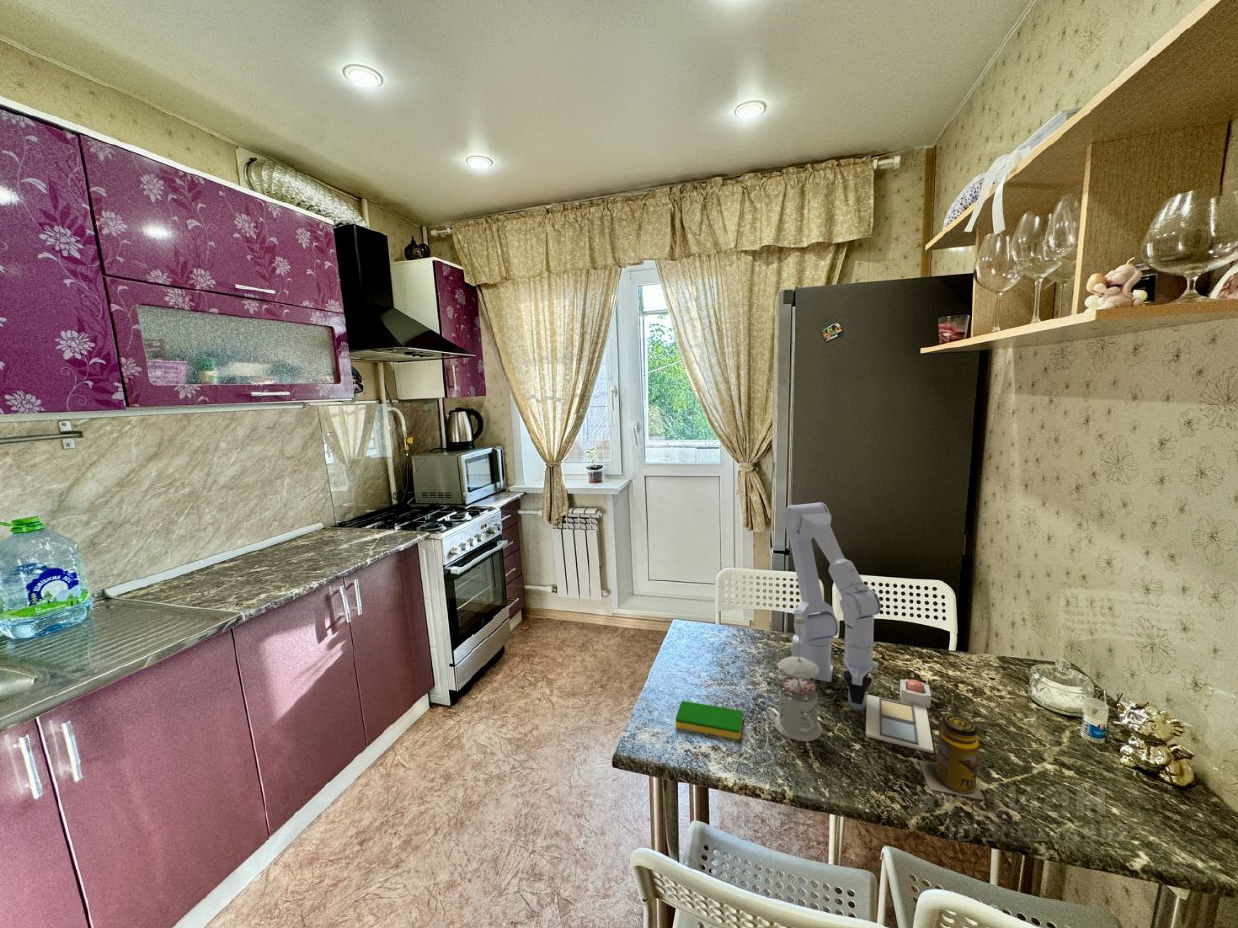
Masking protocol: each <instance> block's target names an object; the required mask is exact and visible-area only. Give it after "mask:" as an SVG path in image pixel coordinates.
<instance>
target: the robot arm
mask: <svg viewBox="0 0 1238 928" xmlns="http://www.w3.org/2000/svg"><path fill="white" fill-rule="evenodd" d="M782 516H783V522H784V523H783V524H784V527H785V532H786V537H788V538H789V543H790V548H791V553H792V560H793V565H794V569H795V573H796V579H797V584H798V591H799V594H800V601H801V602H800V603H799V604H798V606H797V607H796V608H795V609H794V611H793V617H794V619H793V620H794V622H793V629H794V632H795V634H794V635H793V636H792V644H791V657H798V648H799V624H797V623H795V618H796V617H802V618H803V619H804V624H800V651H799V657H803V658H805V659H807V660H810V661H812V662H813V663H814V664H816V665H817V666H818V668H819V673H818V675H817V676H816V677H815V680H819V681H821V682H822V681H823V682H827V683H830V682H832V679H833V678H832V677H833V670H834V665H832V664H831V661H832V660H831V659H832V658H831V657H832V642H834V640H835V637H836V636H837V635H838V634H839V633H840V624H839V621H838V618H837V617H836V614H835V613H834V607H833V606H832V605H829V603H827V602H826V601H824V598H823V593H822V588H821V583H820V579H819V574H818V568H817V565H816V563H817V562H816V559H815V554H814V549H813V543H812V539H814V540H815V542H816V543H817V545H818V547H819V548H820V549H821V552H822V553H823V554H824V556H825V558H826V559H827V561H828V562H829V567H828V573H829V575H830V577H831V579H832V581H833V583H834V585H835V587H836V589H837V591H838V593H839V595H840V597H841V599H840V600H839V606H840V609H841V612H842V620H843V622H844V624H845V625H844V626H845V631H844V656H843V660H842V661H843V664H844V665H845V667H846V669H847V670H843V678H844V680H845V682H846V684H847V688H848V693H849V692H850V698H851V701H852V703H856V704H860V705H862V703H863V700H864V696H865V692H866V693H867V690H868V688H869V687H870V686H871V684H872V679H873V678H872V677H869V676H868V675H869V674H870V672H871V670H872V669H875V670H877V669H879V662H878V661H873V653H874V652H873V651H874V650H873V649H874V629H875V627H874V626H875V624H874V623H875V615H876V616H877V615H878V614H879V613H880V611H881V601H880V597H879V596H878V594H877V593H876V591H875V590H873V589H871V588H870V587H869V586H868V585H867V584H865V582H864V581H863V579H862V577H861V575H860V574H859V571H858V570H857V568H856V567H855V565H854V563H853V561H851V560H848V559H846V558H845V556H844V554H843V552H842V549H841V547H840V546H839V543H838V540H837V538H836V536H835V533H834V531H833V529H832V527H831V523H832V515H831V513H830V510H829V508H828V506H827V505H826V503H824V502H821V501H819V502H815V503H814V502H813V503H803V504H789V505H788V506H787V507H786V508H785V511H784V513H783V514H782Z"/></svg>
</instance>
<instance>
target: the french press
mask: <svg viewBox="0 0 1238 928" xmlns="http://www.w3.org/2000/svg"><path fill="white" fill-rule="evenodd" d="M795 623H797V624H799V648H798V657H792V655H791V656H788V657H785V658H783V659H781V660H780V661H779V663H778V665H779V668H780V671H782V672H783V673H784V674H785V675H787V676H785V677H783V678H782V679H781V681H780V682H781V683H780V686H779V709H778V711H779V712H778V713H779V714H777V716H776V717H775V719H774V725H775V728H776V729H777V730H778V732H779V733H780V734H782V735H784V736H785V737H787V738H789V739H793V740H795V741H798V742H799V741H800V742H810V741H815V740H817V739H818V738H819V737H820V736H821V735H822V733H823V728H822V725H821V724H820V723H819V722H818V711H819V709H818V706H819V705H818V703H819V702H818V691H817V686H816V684H815V680H816V679H815V677H816V676H817V675H818V673H819V668H818V666H817V665H816V664H814V663H813V662H812V661H810V660H807V659H805V658H803V657H799V651H800V624H804V619H803V618H802V617H796V618H795ZM812 679H813V680H812ZM784 693H786V694H784ZM787 693H790V694H787ZM804 696H806V701H804V698H805V697H804Z"/></svg>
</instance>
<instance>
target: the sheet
mask: <svg viewBox="0 0 1238 928" xmlns="http://www.w3.org/2000/svg"><path fill="white" fill-rule="evenodd" d="M927 709H928V708H926V707H921V706H916V705H912V704H907V703H904V702H901V701H897V700H893V699H888V698H884V697H880V696H875V695H870V694H866V707H865V710H866V713H865V714H866V715H865V719H866V720H865V722H866V723H865V737H867V738H872V739H875V740H880V741H883V742H888V743H890V744H894V745H898V746H903V747H905V748H906V747H908V748H910V749H914V750H918V751H922V752H926V753H931V754H934V753H935V752H934V751H935V750H934V746H933V738H932V733H931V728H930V722H929V721H930V720H929V716H928V711H927Z"/></svg>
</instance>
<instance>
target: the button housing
mask: <svg viewBox="0 0 1238 928" xmlns="http://www.w3.org/2000/svg"><path fill="white" fill-rule="evenodd" d="M899 680H900V681H899V682H900V684H899V695H900V702H903V703H907V704H912V705H916V706H921V707H925V708H926V709H931V704H932V703H931V701H932V695H931V689H930V685H929V684H926V683H924V682H921V681H920V682H921V683H922V684H923V693H919V692H914V691H910V690H908V681H909V680H910V679H907V678H906V679H899Z"/></svg>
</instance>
